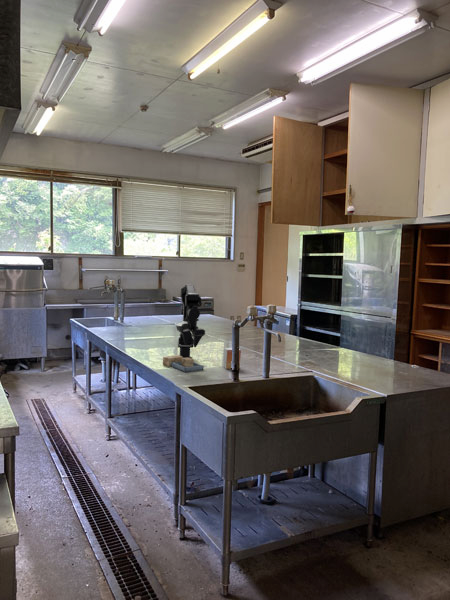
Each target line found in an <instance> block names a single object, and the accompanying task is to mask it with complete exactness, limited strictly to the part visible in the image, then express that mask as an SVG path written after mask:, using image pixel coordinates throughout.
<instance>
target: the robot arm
mask: <svg viewBox="0 0 450 600" xmlns="http://www.w3.org/2000/svg"><path fill="white" fill-rule="evenodd" d="M179 297H180V301H181V303H182V304H183V306H182V308H183V309H182V311H183V312H182V313H183V314H182V321H180V322H179V323H177V324H175V328H176V330H177V331H178V332H179V336H178V339H177V348H178V349H179V355H180V356H182V357H183V358H188V357H189V358H192V359H193V356H191V348H197V347H198V344H199V343H200V341H201V339H202V338H203V337H204V336H205V335H206V329H203V328H199V326H197V324H198V322H199V321H200V320H199V318H200V316H201V312H200V310H199V308H201V307H202V297H201V295H200V293H198V292H197V291H196V288H195V285H194V284H189V283H187V284H185V285H184V286H183V287H182V288H180V291H179Z"/></svg>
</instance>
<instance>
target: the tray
mask: <svg viewBox="0 0 450 600" xmlns="http://www.w3.org/2000/svg"><path fill="white" fill-rule="evenodd" d="M181 362H182V361H180V362H171V366H170V367H172V368H174V369H176V370H179V371H181V372H184V373H187V372H197V371H204V365H203V364H200V363H197V362H194V361H193V367H183V366H181Z"/></svg>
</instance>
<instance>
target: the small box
mask: <svg viewBox="0 0 450 600" xmlns="http://www.w3.org/2000/svg"><path fill="white" fill-rule="evenodd" d="M232 348H233V347H224V349H223V350H224V352H223V364H222V365H223V368H225V369H227V370H228V369H231V361H232ZM241 355H242V349H240V348H239V367H240V368H241V358H242V357H241ZM231 370H232V369H231Z"/></svg>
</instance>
